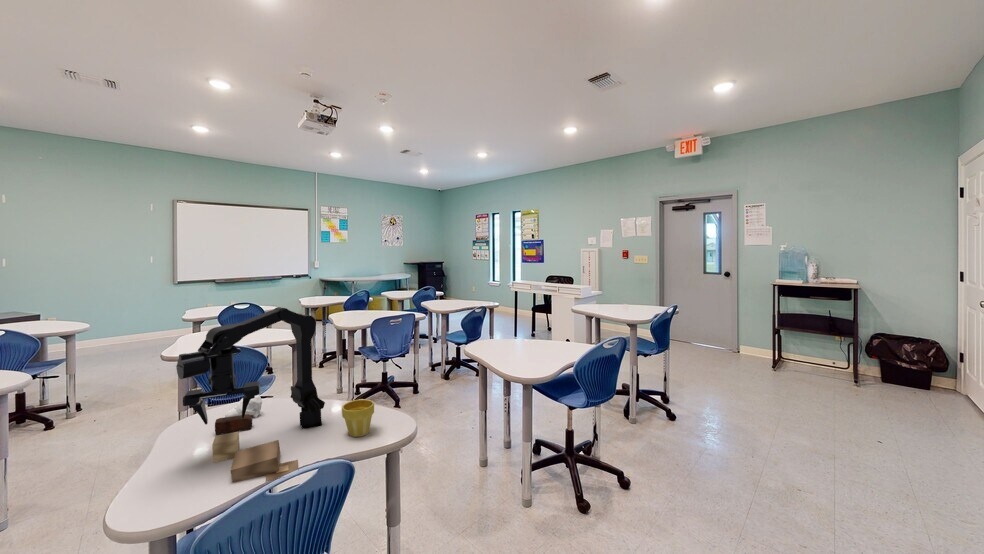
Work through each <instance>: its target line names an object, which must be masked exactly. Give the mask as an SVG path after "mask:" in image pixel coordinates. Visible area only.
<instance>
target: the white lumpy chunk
mask: <svg viewBox="0 0 984 554" xmlns="http://www.w3.org/2000/svg"><path fill="white" fill-rule="evenodd" d="M262 404H263V401H262V398H261V395H260V394H259V395H256V396H255V398H253V399H250V401H249V404H248V406H247V409H246V412H245V414H249V415H251V416H252V417H253V418H254V419H255V418H257V417H258V416H259V415H260V413H261V411H262ZM242 406H243V397H242V398H241V399H239V402H238V403H236V405H235V406H234V407H233V408H231V409H229V410H228V411H227V412H226V413H225V415H224V417H233V416H239V415H242Z"/></svg>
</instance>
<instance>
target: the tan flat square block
mask: <svg viewBox="0 0 984 554" xmlns="http://www.w3.org/2000/svg"><path fill="white" fill-rule="evenodd" d="M280 463H281V448H280V442H279V439H277V440H274V441H269V442H266V443H263V444H259V445H255V446H250V447H248V448H244V449H239V451H236V453H235V457H234V458H233V460H232V465H231V467H230V469H229V471H230V475H231V480H232V483H237V482H241V481H247V480H251V479H256V478H259V477H263V476H266V474H269V473H273V472H276V471H279V465H280Z"/></svg>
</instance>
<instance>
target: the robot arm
mask: <svg viewBox="0 0 984 554" xmlns="http://www.w3.org/2000/svg"><path fill="white" fill-rule="evenodd" d="M316 320H317V319H316V318H315V317H314V316H312V315H309V314H303V313H297V312H295V311H292V310H290V309H288V308H286V307H280V306H279V307H275V308H274V309H271V310H269V311H267V312H264V313H261V314H259V315H256V316H254V317H251V318H248V319H246V320H243V321H240V322H237V323H233V324H224V325H220V326H216V327H213V328H211V329H209V330H208V331H207V333H206V335H205V339H204V341H203V342H202V343H201V345H200V346H199V347H198V349H197V351H196V352H195V351H194V352H189V353H181V354H179V355H178V359H177V363H176V365H175V367H176V368H175V369H176V373H177V376H178V378H179V379H180V380H184V379H190V378H194V377H198V376H203V375H206V374H207V373H208V372H209V371H210V374H208V382H207V383H208V386H210V387H211V391H204V389H203V388H199V389H191V390H187V392H186V393H185V394H184V395H183V397H182V407H188V408H189V409H193V410H194V411H195V412H196V413H197V414H198V415H199V417H200V418H201V420H202V422H203V423H204V425H206V426H207V425H208V422H209V419H208V413H207V408H206V400H207V399H212V398H220V397H226V396H227V397H228V396H232V395H233V396H234V395H239V394H240V395H241V394H243V397H242V398H243V406H242V418H244V415H245V412H246V409H247V406H248V404H249V401H250V399H253V398H255V396H256V395H260V392H261V383H260V381H257V380H256V381H251V382H249V381H248V382H245V383H244V386H238V387H236V386H237V379H236V378H237V377H236V374H235V373H234V371H235V370H234V367H235V366H234V354H239V353H241V349H239V348H237V347H236V344H238V343H239V342H240V341H241V340H243V339H244V338H245V337H247V336H248V335H250V334H252V333H255V332H258V331H260V330H262V329H265V328H267V327H270V326H272V325H274V324H276V323H279V322H284V323H286V324H288V325H290V329H291V333H292V334H293V336H294V339H295V345H296V346H295V347H296V349H295V350H296V382H295V384H294V385H292V386H290V393H291V394H290V398H291V399H292V401H293V402H294V403H295V404H297V406H298V407H299V408H300V409H301V410H300V412H299V426H300V427H301V429H302V430H306V429H307V430H308V429H313V428H316V427H322V426H323V423H322V409H324V407H325V404H326V402H325V401H324V400H322V399H321V398H319V396H318V392H317V391H318V390H317V388H316V385H315V383H314V381H313V364H312V363H313V362H312V359H313V358H312V353H313V352H312V339H313V337H314V335H315V333H316V328H317V321H316Z"/></svg>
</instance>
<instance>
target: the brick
mask: <svg viewBox="0 0 984 554" xmlns="http://www.w3.org/2000/svg"><path fill="white" fill-rule="evenodd" d="M252 427H253V415H249V414H245V415H244V418H242V415H239V416H233V417H225V416H224V417H219V418H216V419H215V422H214V433H215V436H218V435H223V434H229V433H234V432H239V433H240V432H243V431H249V430H251V428H252Z"/></svg>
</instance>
